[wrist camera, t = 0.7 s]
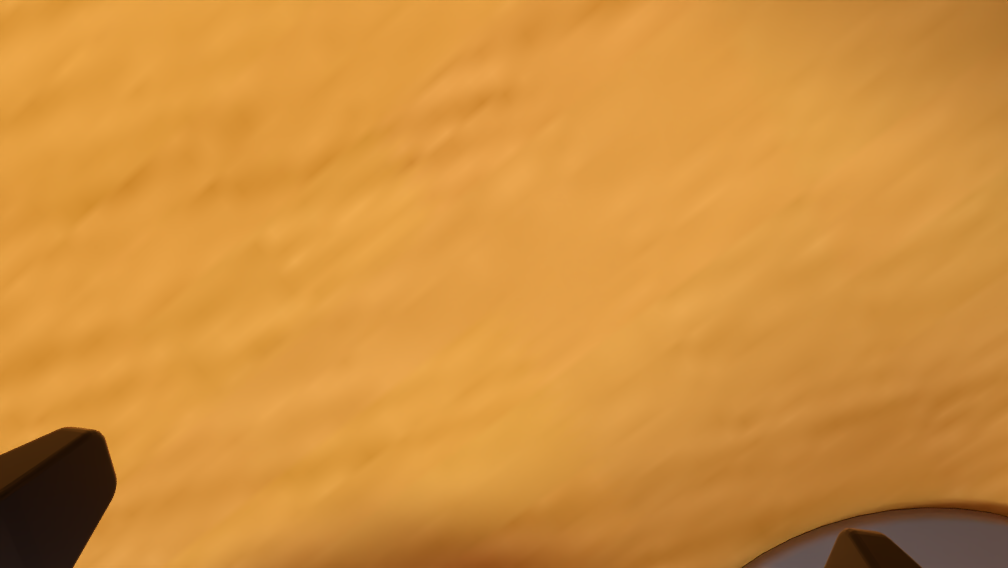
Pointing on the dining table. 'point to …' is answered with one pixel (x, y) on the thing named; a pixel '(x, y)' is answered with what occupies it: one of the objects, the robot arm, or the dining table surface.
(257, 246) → the dining table surface
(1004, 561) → the tuner plate
